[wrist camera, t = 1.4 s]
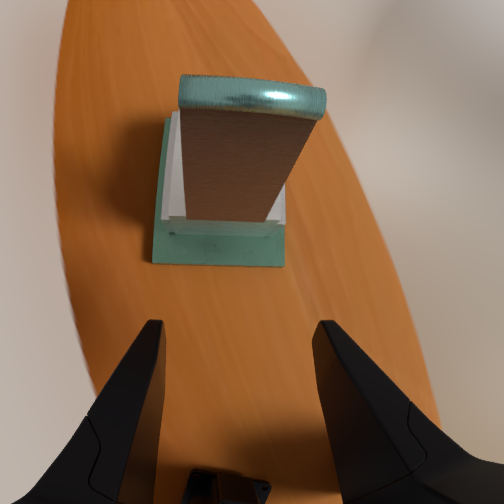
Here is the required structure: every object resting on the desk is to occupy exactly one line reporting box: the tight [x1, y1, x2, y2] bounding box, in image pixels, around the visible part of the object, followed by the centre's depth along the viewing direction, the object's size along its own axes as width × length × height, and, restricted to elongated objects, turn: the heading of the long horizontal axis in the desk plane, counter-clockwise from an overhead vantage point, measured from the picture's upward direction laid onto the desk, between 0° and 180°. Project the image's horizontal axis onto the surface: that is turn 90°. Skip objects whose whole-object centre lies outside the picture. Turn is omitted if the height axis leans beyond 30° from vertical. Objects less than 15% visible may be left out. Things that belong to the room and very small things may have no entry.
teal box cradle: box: [152, 109, 286, 268], centre depth 20 cm, size 11×9×6 cm
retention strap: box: [178, 74, 327, 223], centre depth 12 cm, size 1×4×9 cm, turn 90°
